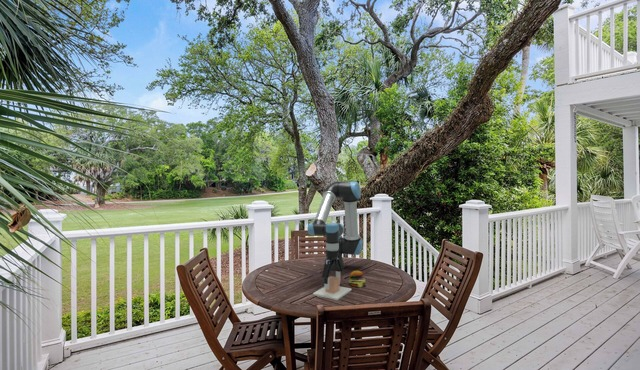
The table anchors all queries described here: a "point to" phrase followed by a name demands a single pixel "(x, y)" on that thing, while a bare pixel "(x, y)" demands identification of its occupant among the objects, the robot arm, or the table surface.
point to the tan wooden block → (333, 284)
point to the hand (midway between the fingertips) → (332, 285)
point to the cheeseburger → (357, 279)
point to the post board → (335, 296)
